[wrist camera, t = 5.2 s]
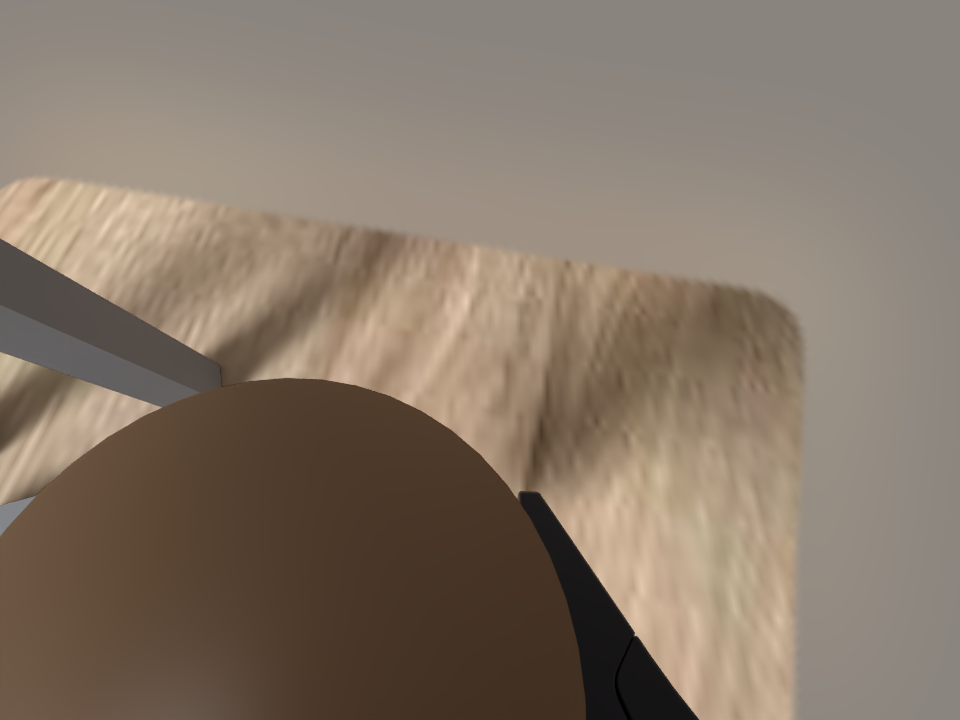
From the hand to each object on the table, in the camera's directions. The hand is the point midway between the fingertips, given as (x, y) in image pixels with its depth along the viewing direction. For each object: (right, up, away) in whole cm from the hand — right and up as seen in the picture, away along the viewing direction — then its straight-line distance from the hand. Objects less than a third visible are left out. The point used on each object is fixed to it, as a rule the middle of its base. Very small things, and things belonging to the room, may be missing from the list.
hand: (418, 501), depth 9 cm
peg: (0, -4, +6) cm, 7 cm away
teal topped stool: (-17, -3, +11) cm, 20 cm away
